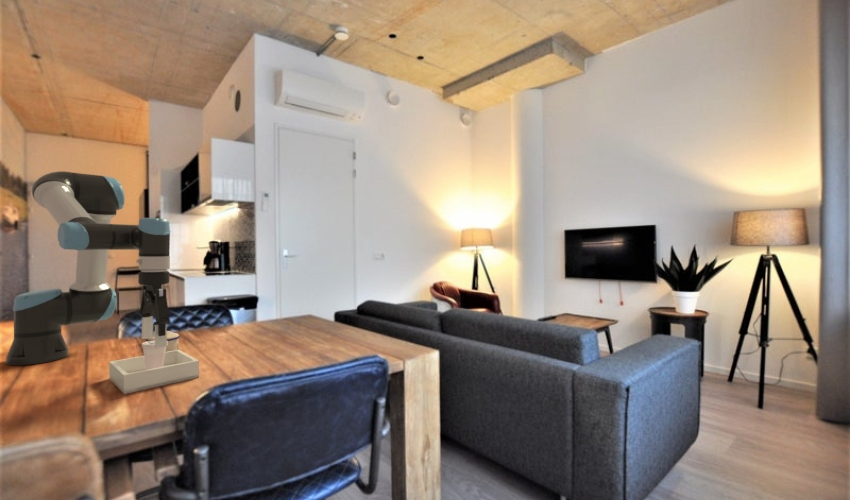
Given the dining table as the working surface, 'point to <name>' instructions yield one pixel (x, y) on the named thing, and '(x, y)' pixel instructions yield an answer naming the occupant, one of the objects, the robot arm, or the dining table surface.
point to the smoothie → (153, 355)
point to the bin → (152, 372)
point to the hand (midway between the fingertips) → (153, 342)
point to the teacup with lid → (169, 341)
